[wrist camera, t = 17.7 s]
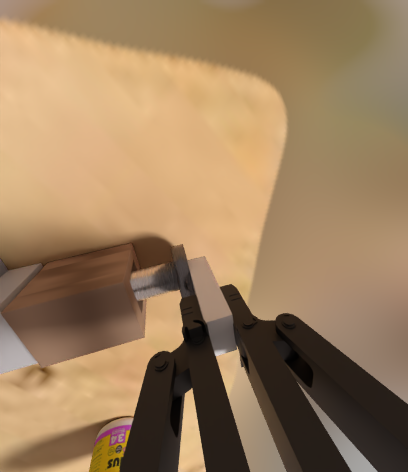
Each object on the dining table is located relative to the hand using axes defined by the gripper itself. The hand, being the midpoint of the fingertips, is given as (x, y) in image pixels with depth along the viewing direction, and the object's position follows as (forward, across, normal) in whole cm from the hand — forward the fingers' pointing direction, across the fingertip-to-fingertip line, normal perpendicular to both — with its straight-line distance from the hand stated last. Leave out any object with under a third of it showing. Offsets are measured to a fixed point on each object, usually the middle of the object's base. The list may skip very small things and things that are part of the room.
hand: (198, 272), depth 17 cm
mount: (+3, -8, 0) cm, 9 cm away
